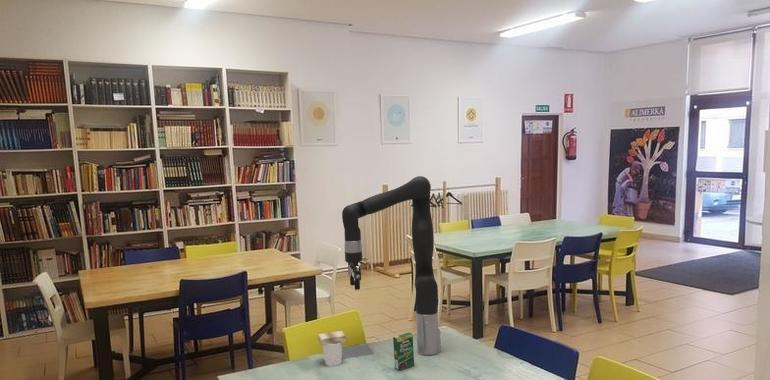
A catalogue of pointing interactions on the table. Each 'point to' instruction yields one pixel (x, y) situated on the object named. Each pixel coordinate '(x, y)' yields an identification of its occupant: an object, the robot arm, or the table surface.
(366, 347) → the mat
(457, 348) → the table surface
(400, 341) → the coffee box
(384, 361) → the table surface
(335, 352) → the white cup
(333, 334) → the lid board
